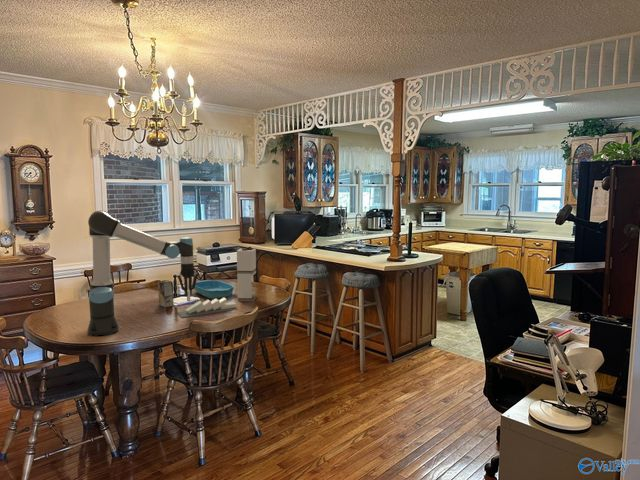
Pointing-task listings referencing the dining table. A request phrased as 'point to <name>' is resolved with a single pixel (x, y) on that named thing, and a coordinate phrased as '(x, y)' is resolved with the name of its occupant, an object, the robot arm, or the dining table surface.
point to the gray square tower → (246, 274)
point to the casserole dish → (214, 288)
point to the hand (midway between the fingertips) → (188, 300)
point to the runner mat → (201, 312)
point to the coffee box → (165, 293)
